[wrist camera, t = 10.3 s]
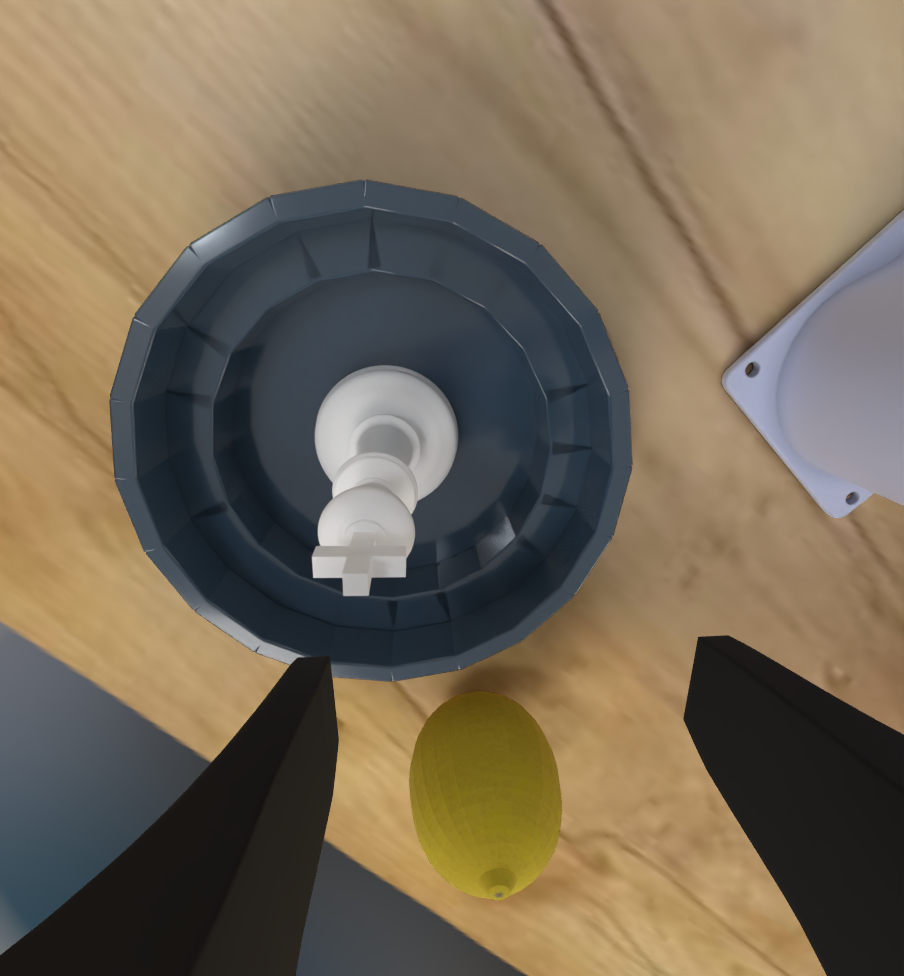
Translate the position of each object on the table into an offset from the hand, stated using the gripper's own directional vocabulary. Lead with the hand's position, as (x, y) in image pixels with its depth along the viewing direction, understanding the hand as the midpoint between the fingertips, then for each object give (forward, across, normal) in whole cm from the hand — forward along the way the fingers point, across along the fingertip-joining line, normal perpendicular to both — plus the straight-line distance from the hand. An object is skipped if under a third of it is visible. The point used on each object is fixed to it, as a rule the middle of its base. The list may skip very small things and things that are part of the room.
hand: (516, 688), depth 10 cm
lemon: (+11, 0, +10) cm, 14 cm away
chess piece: (+10, +3, -3) cm, 11 cm away
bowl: (+10, +3, -3) cm, 11 cm away
